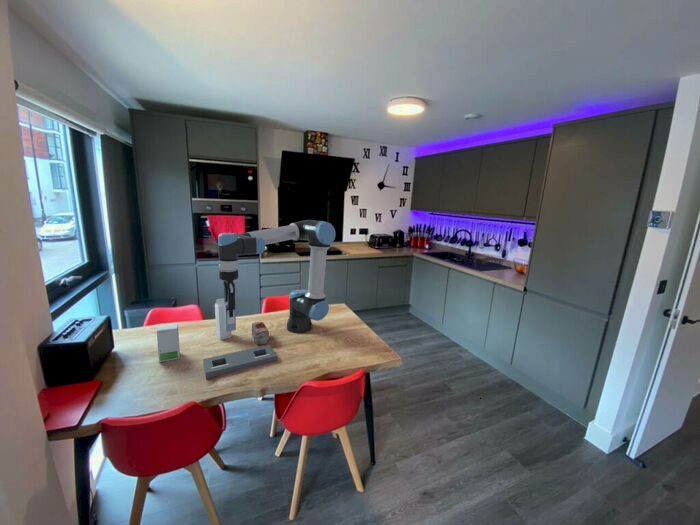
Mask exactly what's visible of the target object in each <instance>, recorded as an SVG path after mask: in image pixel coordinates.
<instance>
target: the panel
mask: <svg viewBox="0 0 700 525" xmlns="http://www.w3.org/2000/svg"><path fill="white" fill-rule="evenodd" d="M277 359H278V358H277V354H276V353H275V350H273V347H272V346H271V344H264V345H261V346H257V347H252V348H247V349H244V350H243V349H242V350H238V351H235V352H230V353H224V354H221V355H215V356H211V357H207V358H203V359H202V361H203V362H202V363H203V368H204V369H203V370H204V374H205V380H208V379H213V378H217V376H222V375H225V374H230V373H233V372H237V371H241V370H245V369H249V368H254V367H257V366H262V365H266V364H269V363H274V362H277Z"/></svg>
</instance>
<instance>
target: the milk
mask: <svg viewBox="0 0 700 525" xmlns="http://www.w3.org/2000/svg"><path fill="white" fill-rule="evenodd" d="M224 301H225V298H218V299H216V300H215V303H214V314H215V330H216V331H215V332H216V337H217V339H219V341H221V340H225V339H230V338H232V331H228V332H226V330H225V320H224Z"/></svg>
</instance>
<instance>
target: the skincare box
mask: <svg viewBox="0 0 700 525" xmlns="http://www.w3.org/2000/svg"><path fill="white" fill-rule="evenodd" d="M179 332H180V330H179V322H178V323H168V324H160V325H157V328H156V340H157V341H156V342H157V355H158V363H162V362H169V361H174V360H180V353H181V352H180V336H179V335H180V333H179Z"/></svg>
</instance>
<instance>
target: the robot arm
mask: <svg viewBox="0 0 700 525" xmlns="http://www.w3.org/2000/svg"><path fill="white" fill-rule="evenodd" d="M335 238H336V229H335V227H334V225H332V223H330V222H327V221H324V220H315V219H314V220H313V219H306V220H300V221H297V222H296V221H295V222H292V223H290V224H289V225H285V226H278V227H277V226H276V227H272V228H265V229H261V230H253V231H247V232H243V233H238V232H234V233H233V232H221V233H219V234H218V239H217V246H218V247H217V248H218V249H217V250H218V262H217V265H218V269H219V271H218V277H219V280H220V281H223V292H224V293H223V295H224V298H225V301H224V302H227V303H228V309H226V311H227V321H228V324H234V323H235V322H234V310H235V307H236V288H235V286H236V283H235V282H234V281H235V280H238V279H239V270H238V269H239V256H246V255H260V254H262V253H264V252H265V250H266V245H270V244H275V243H276V244H277V243H280V242H285V241H289V240H292V241H308V243H307V244H308V247H309V248H310V255H309V256H310V258H309V267H308V268H309V270H308V272H309V273H308V284H307V289H296V290H292V291H290V293H289V296H288V297H289V317H288V319H287V321H286V322H287V323H286V330H287V331H288V332H291V333H294V334H298V333H299V334H301V333H306V332H309V331H311V330H312V328H313V321H316V322H319V321H322V320H323V319H325V318H326V316H327V315H328V314H329V310H330V306H329V303H328V302H327V301H326V294H325V293H324V288H325V276H326V265H327V253H328V252H327V251H328V249H330V248H331V245H332V244H333V243H334V241H335ZM312 320H313V321H312Z"/></svg>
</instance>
